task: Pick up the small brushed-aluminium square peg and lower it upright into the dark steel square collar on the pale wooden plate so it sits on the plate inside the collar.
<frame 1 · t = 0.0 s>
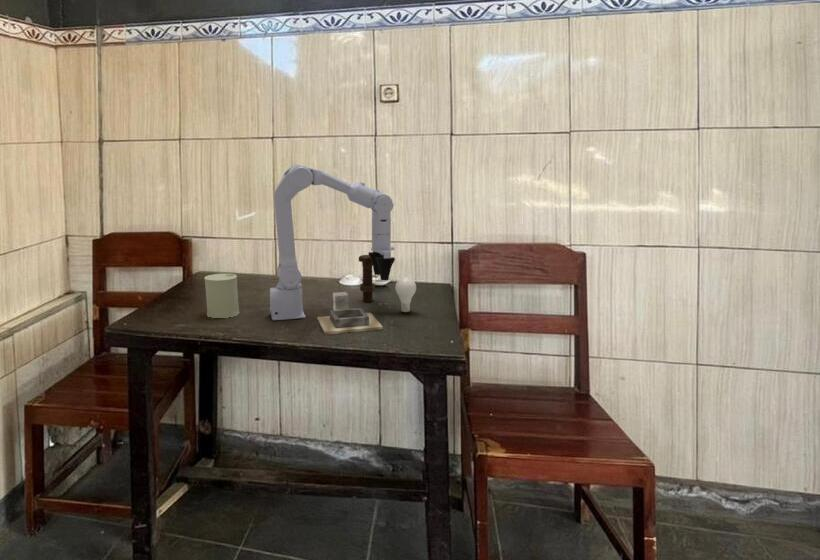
hand: (381, 277, 166), 10 cm above the table, tool pointing down, fingers open, 7 cm apart
socket base: (349, 324, 152), on the table
bolt: (367, 301, 177), on the table
can: (223, 314, 161), on the table
peg: (341, 312, 164), on the table
lightbulb: (405, 313, 165), on the table
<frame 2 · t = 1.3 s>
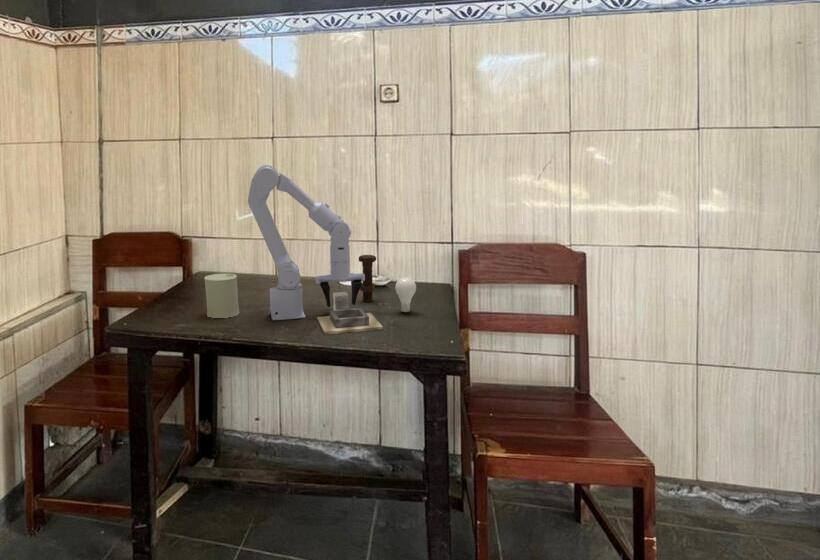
hand: (341, 305, 163), 2 cm above the table, tool pointing down, fingers open, 7 cm apart
nothing on the table moved.
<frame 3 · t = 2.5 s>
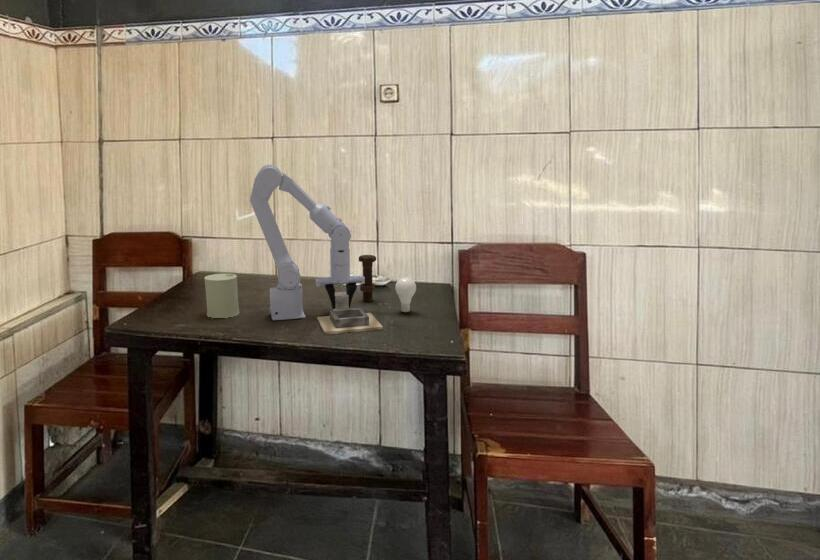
hand: (340, 307, 163), 2 cm above the table, tool pointing down, fingers closed on peg, 4 cm apart
peg: (341, 312, 164), on the table, touching gripper
everything else where it was.
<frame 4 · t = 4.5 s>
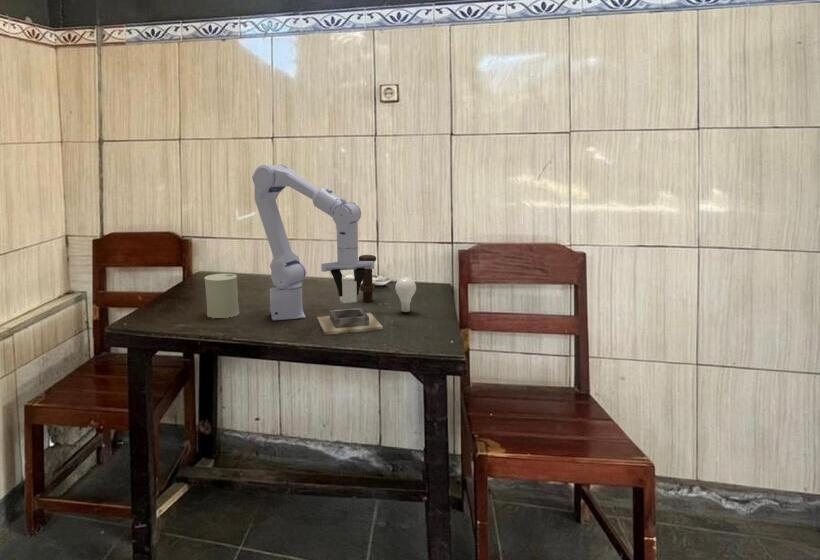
hand: (348, 295, 151), 8 cm above the table, tool pointing down, fingers closed on peg, 4 cm apart
peg: (348, 300, 152), point 7 cm above the table, touching gripper
everything else where it was.
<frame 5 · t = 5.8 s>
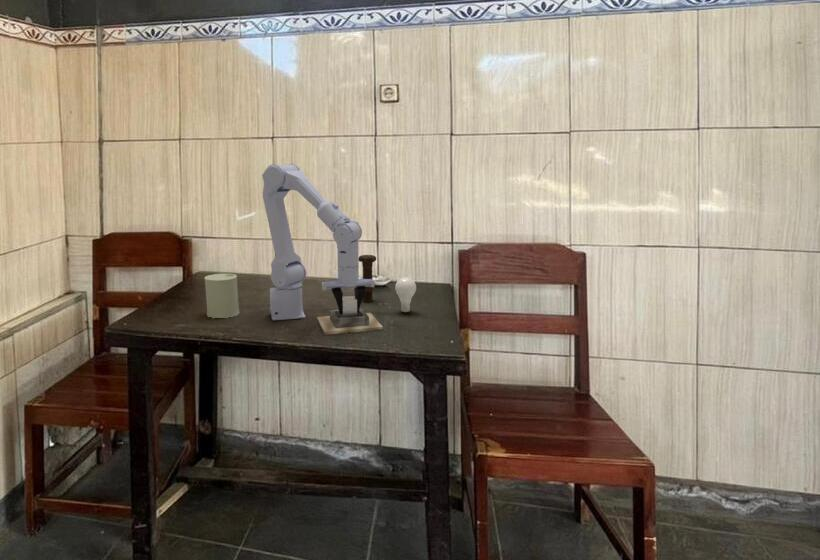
hand: (348, 312, 152), 3 cm above the table, tool pointing down, fingers closed on peg, 4 cm apart
peg: (348, 318, 152), point 2 cm above the table, touching gripper
everything else where it was.
when the fingers open (3 cm above the table, at t = 6.6 s): peg stays where it is, resting on socket base.
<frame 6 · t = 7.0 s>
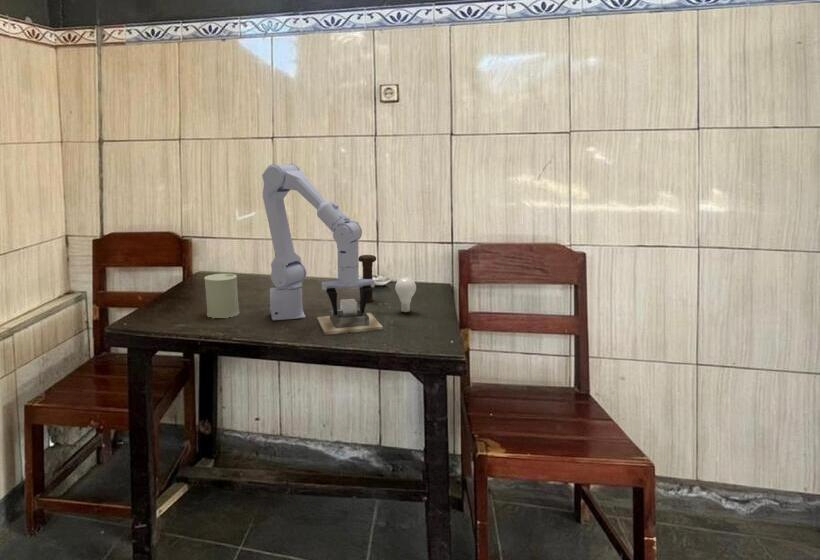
hand: (348, 312, 152), 3 cm above the table, tool pointing down, fingers open, 7 cm apart
peg: (348, 321, 153), point 1 cm above the table, touching socket base
everything else where it was.
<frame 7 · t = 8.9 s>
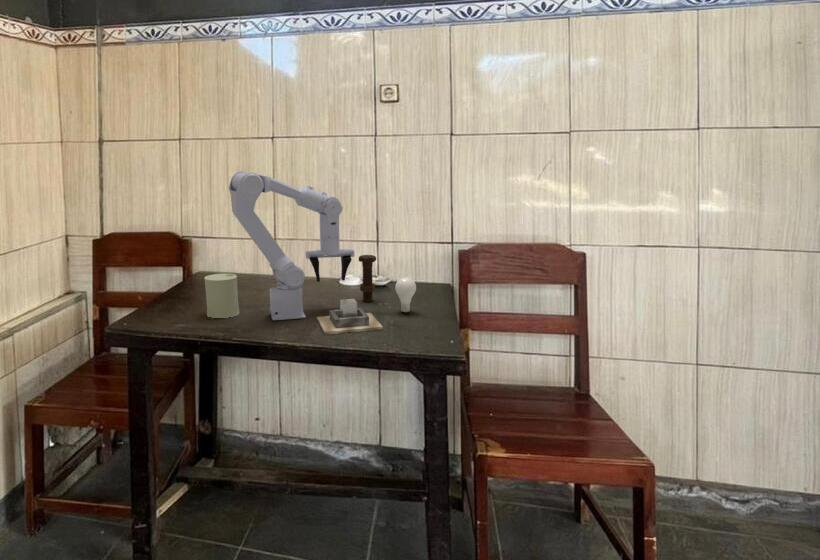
hand: (330, 280, 165), 9 cm above the table, tool pointing down, fingers open, 7 cm apart
nothing on the table moved.
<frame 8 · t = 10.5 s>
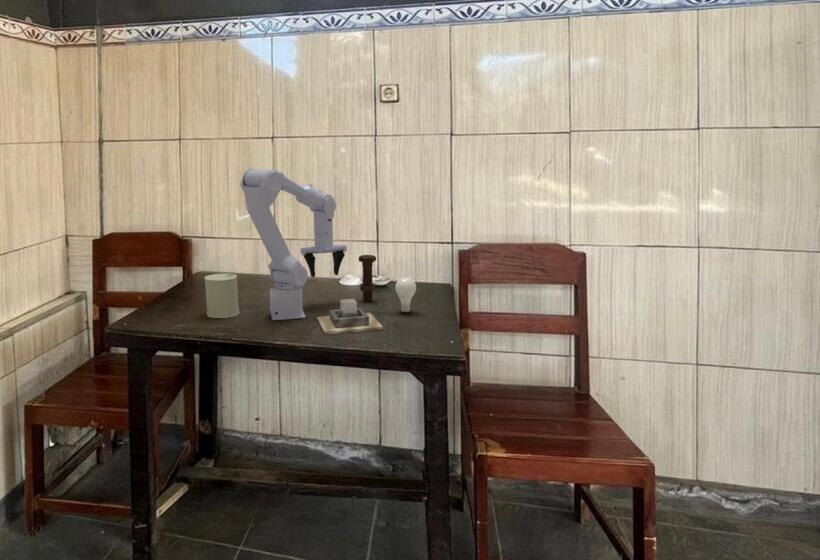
hand: (324, 275, 171), 9 cm above the table, tool pointing down, fingers open, 7 cm apart
nothing on the table moved.
at the end: peg 0.3 cm off-centre on the socket base, point 0.8 cm above the socket base's base; peg tilted 0°; the gripper is holding nothing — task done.
